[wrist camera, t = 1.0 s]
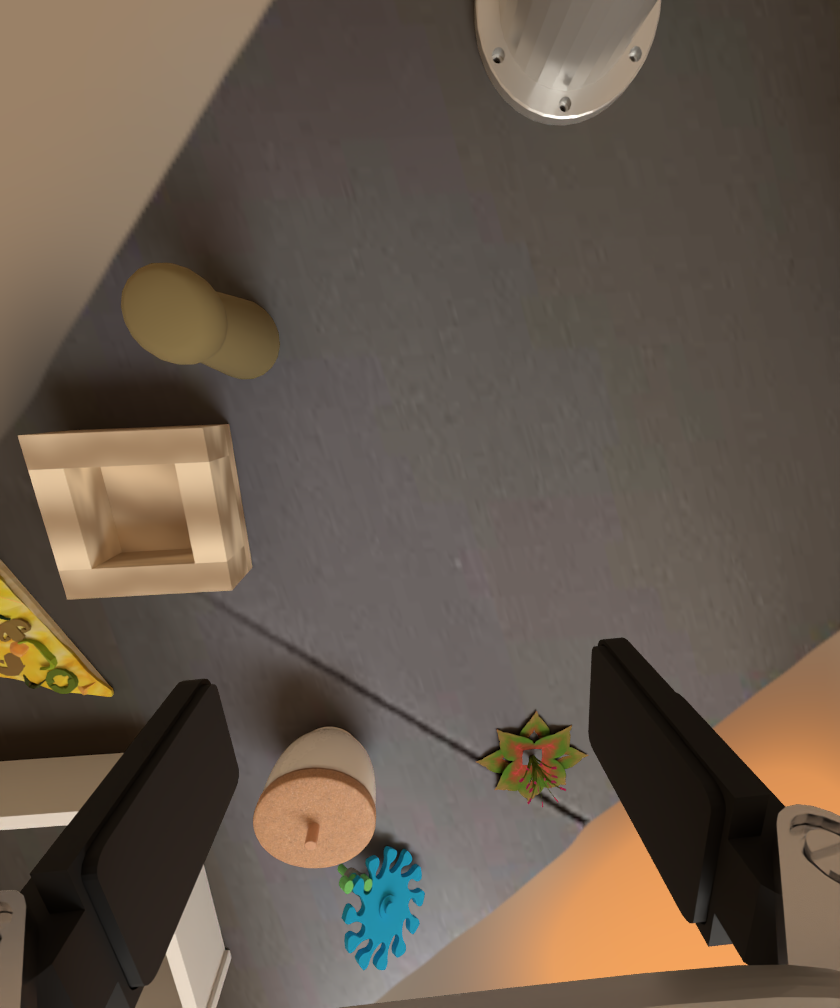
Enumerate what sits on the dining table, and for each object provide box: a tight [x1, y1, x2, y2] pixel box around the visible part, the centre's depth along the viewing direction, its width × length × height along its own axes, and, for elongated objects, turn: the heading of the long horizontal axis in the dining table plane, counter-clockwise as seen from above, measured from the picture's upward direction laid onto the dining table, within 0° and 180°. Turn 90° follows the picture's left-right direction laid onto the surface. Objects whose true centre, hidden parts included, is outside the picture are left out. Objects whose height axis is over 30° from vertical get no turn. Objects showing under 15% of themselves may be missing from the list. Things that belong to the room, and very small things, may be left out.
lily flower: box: [476, 711, 588, 807], centre depth 42 cm, size 12×12×5 cm
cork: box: [121, 263, 280, 379], centre depth 26 cm, size 6×6×11 cm
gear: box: [338, 846, 425, 970], centre depth 44 cm, size 11×6×10 cm
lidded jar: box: [253, 726, 376, 868], centre depth 37 cm, size 11×11×9 cm
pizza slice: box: [0, 560, 114, 697], centre depth 36 cm, size 16×21×3 cm
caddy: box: [18, 424, 252, 600], centre depth 32 cm, size 13×13×4 cm
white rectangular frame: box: [0, 753, 231, 1008], centre depth 42 cm, size 33×35×6 cm
